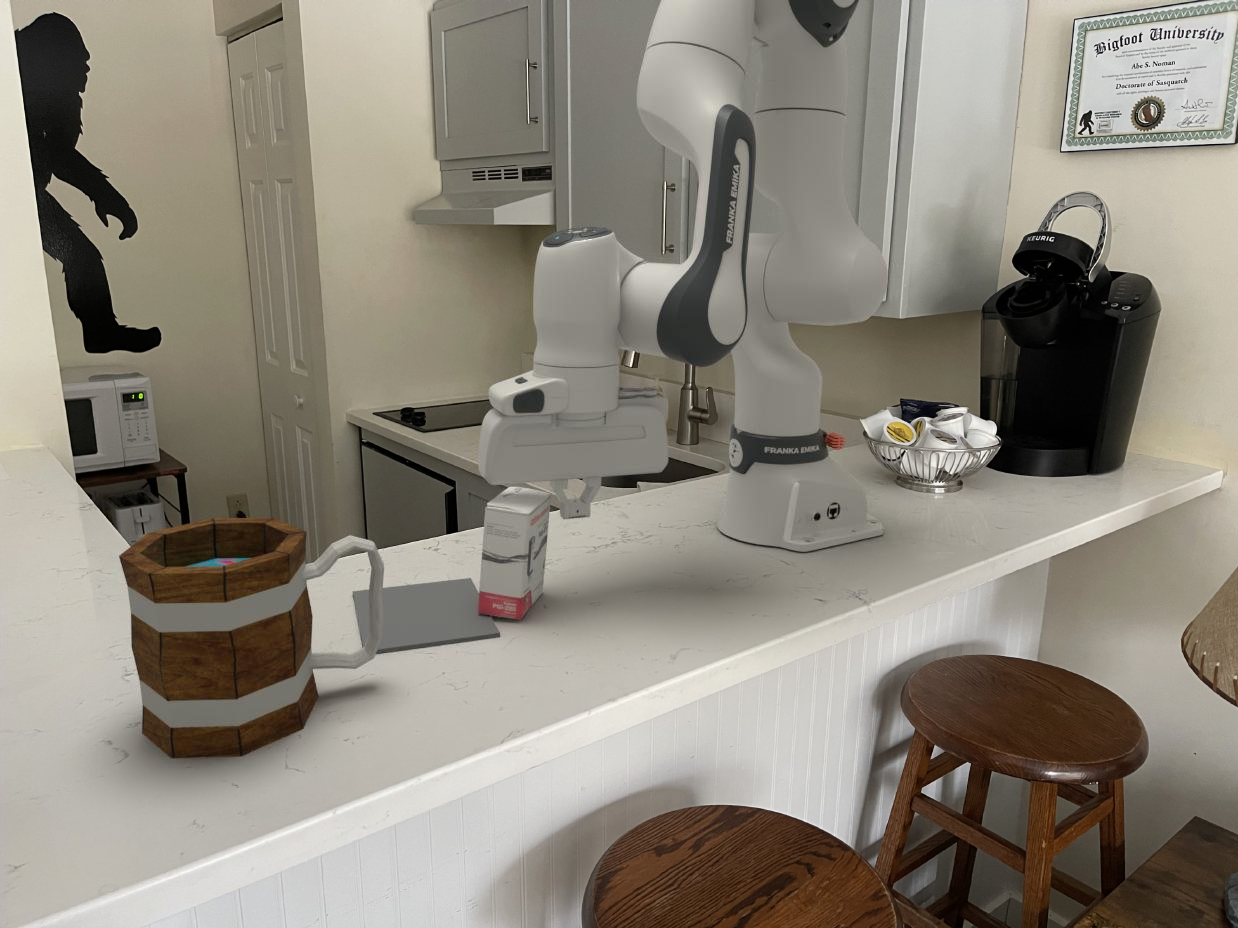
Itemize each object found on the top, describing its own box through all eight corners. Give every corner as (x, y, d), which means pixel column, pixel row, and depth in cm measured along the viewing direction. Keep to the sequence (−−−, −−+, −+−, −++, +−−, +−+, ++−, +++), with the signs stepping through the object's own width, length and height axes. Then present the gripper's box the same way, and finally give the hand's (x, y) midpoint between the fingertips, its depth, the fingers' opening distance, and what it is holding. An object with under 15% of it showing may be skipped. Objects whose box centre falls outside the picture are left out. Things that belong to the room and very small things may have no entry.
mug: (141, 778, 66) (115, 588, 62) (142, 694, 77) (120, 528, 73) (409, 717, 74) (401, 547, 70) (373, 650, 86) (364, 500, 82)
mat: (470, 581, 103) (470, 577, 102) (499, 636, 89) (499, 632, 89) (352, 594, 98) (352, 591, 98) (364, 655, 85) (364, 651, 85)
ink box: (523, 622, 92) (529, 511, 89) (476, 615, 93) (480, 504, 90) (546, 592, 100) (552, 489, 97) (503, 585, 101) (508, 484, 98)
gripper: (657, 381, 99) (653, 500, 103) (473, 388, 92) (476, 516, 96) (680, 390, 93) (675, 517, 97) (486, 399, 86) (488, 535, 90)
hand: (575, 516), depth 96 cm, fingers closed
